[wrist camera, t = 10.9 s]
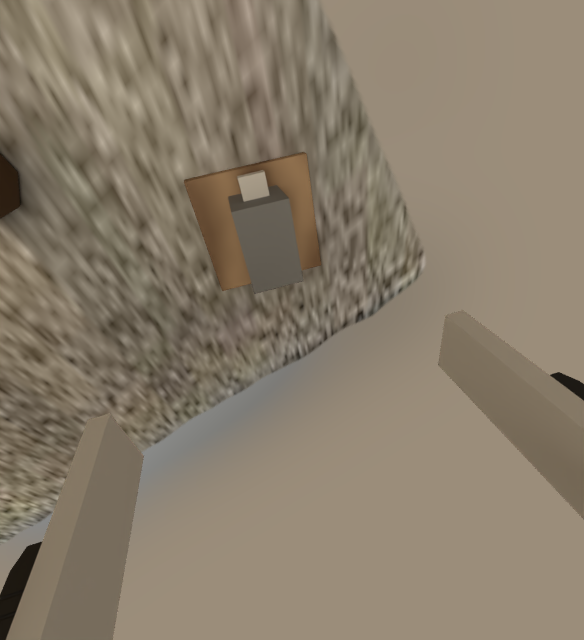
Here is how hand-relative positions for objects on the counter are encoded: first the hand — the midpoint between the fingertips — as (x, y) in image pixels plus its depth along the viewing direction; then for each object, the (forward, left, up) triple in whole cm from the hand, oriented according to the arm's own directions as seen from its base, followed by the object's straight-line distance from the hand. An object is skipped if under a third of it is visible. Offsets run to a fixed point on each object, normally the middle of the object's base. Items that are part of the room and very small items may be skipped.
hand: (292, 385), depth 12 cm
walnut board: (+2, -2, -26) cm, 26 cm away
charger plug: (+2, -2, -24) cm, 24 cm away
